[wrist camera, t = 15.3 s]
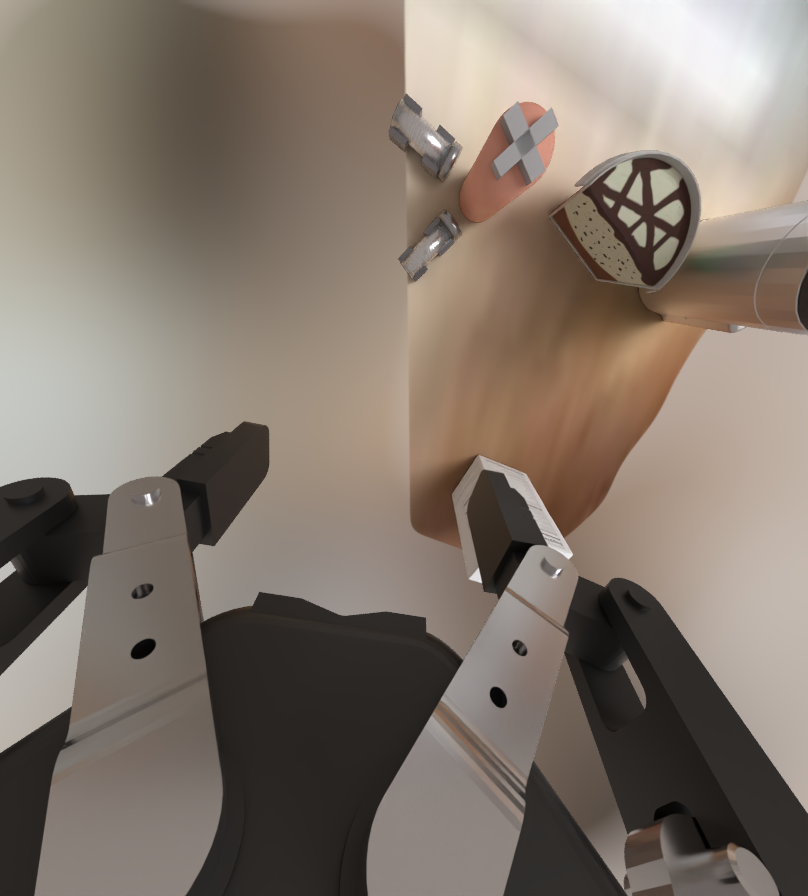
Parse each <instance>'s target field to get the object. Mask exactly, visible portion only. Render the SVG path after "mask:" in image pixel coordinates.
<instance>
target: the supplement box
mask: <svg viewBox="0 0 808 896" xmlns="http://www.w3.org/2000/svg"><path fill="white" fill-rule="evenodd" d="M484 469H485V470H490V471H495V472H500V473H504V475H505V477H506V479H507V481H508V483H509V485H510V487H511V488H515V489H516V490H517V491H518V492H519V493H520V494H521V495H522V496H523V497H524V498H525V500H526V502H527V504H528V506H529V510H531V512H532V514H533V516H534V517H533V519H535V520H536V523H537V525H538V527H539V529H540V531H541V533H542V535H543V537H544V539H545V541H546V543H547V545H548V547H550V548H553V549H555V550H557V551H558V552H560V553H561V554H563V555H564V556H565V557H566V558H567V559H569V558H570V557H571V556H572V555H573V554H572V552H571V550H570V549H569V547H568V545H567V544H566V542H565V540H564V538H563V537H562V535H561V533H560V531H559V530H558V528H557V526H556V525H555V523H554V521H553V520H552V518H551V516H550V515H549V513H548V511H547V510H546V508H545V506H544V504H543V502H542V501H541V499H540V497H539V495H538V494H537V492H536V490H535V489H534V487H533V485H532V483H531V482H530V480H529V478H528V477H527V475H526V474H525V473H523V472H521V471H518V470H516V469H513V468H511V467H508V466H506V465H503V464H501V463H498V462H496V461H493V460H491V459H488V458H486V457H483V456H481V455H478V456H477V457H476V459H475V460H474V462H473V463H472V465H471V466H470V468H469V469H468V471H467V472H466V474H465V475H464V477H463V478H462V480H461V481H460V483H459V484H458V486H457V487H456V489H455V490H454V492H453V493H452V499H453V504H454V509H455V514H456V519H457V524H458V529H459V534H460V539H461V545H462V550H463V555H464V560H465V565H466V570H467V575H468V579H470V580H473V581H477V582H480V583H482V580H481V576H480V571H479V567H478V562H477V558H476V553H475V549H474V544H473V540H472V535H471V531H470V527H469V522H468V518H467V507H468V502H469V499H470V497H471V494H472V492H473V489H474V487H475V485H476V482H477V480H478V477H479V475H480V473H481V471H482V470H484Z"/></svg>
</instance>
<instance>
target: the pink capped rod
mask: <svg viewBox="0 0 808 896" xmlns="http://www.w3.org/2000/svg"><path fill="white" fill-rule="evenodd" d="M557 127H558V123H557V120H556V118H555V115H554V112H553V109H552V108H551V109H550V110H549V111H547V112H546V111H545V109H544V108H542V107H541V106H540V105H538V104H536V103H532V102H522V103H519V102H517V103H516V104H515V105H514V106H512V107H511V108H509V109H508V110H507V111H506V112H505V113H504V114H503V115H502V116H501V117H500V118H499V120H498V121H497V123H496V124H495V126H494V128H493V130H492V131H491V133H490V135H489V137H488V139H487V141H486V143H485V144H484V146H483V148H482V150H481V152H480V154H479V155H478V157H477V159H476V161H475V163H474V165H473V166H472V168H471V170H470V172H469V174H468V176H467V177H466V179H465V181H464V183H463V185H462V187H461V191H460V196H459V202H460V207H461V210H462V212H463V214H464V216H465V217H466V218H467V219H469V220H470V221H473V222H482V221H485V220H487V219H488V218H490V217H491V216H492V215H494V214H495V213H496V212H498V211H499V210H500V209H502V208H503V207H504V206H506V205H507V204H508V203H510V202H511V201H512V200H514V199H515V198H516V197H518V196H519V195H520V194H521V193H523V192H524V191H525V190H527V189H528V188H529V187H531V186H532V185H533V184H535V183H536V182H537V181H538V180H539V179H540V178H541V176H542V175H543V174H544V172H545V171H546V169H547V167H548V165H549V163H550V161H551V158H552V154H553V150H554V143H555V134H554V130H555V129H556V128H557Z"/></svg>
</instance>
